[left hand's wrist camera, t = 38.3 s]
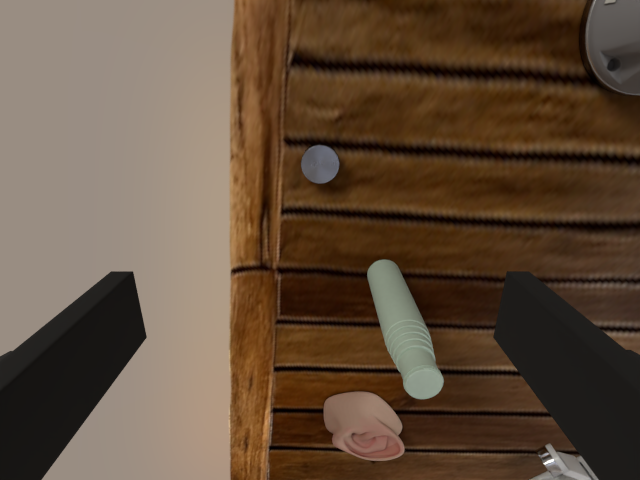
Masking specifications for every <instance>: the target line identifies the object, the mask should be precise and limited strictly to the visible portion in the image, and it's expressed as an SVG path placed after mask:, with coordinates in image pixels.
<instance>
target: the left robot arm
mask: <svg viewBox="0 0 640 480" xmlns="http://www.w3.org/2000/svg"><path fill="white" fill-rule="evenodd" d="M579 43H580V52H581V57H582V60H583V63H584V65H585V68H586V70H587V71H588V73H589V75H590V76H591V77H592V79H593V80H594V81H595V82H596V83H597V84H599V85H600V86H601V87H603V88H604V89H606V90H608V91H610V92H613V93H616V94H621V95H640V0H588V1H587V3H586V6H585V9H584V12H583V16H582V20H581V25H580V34H579ZM145 339H146V332H145V327H144V322H143V318H142V313H141V308H140V303H139V298H138V293H137V289H136V284H135V279H134V274H133V272H110V273H109V274H108V275H106V276H105V277H104V278H103V279H101V280H100V281H99V282H98V283H97V284H95V285H94V286H93V287H92V288H90V289H89V290H88V291H87V292H85V293H84V294H83V295H82V296H80V297H79V298H78V299H77V300H75V301H74V302H73V303H72V304H71V305H69V306H68V307H67V308H66V309H64V310H63V311H62V312H61V313H59V314H58V315H57V316H56V317H54V318H53V319H52V320H51V321H50V322H48V323H47V324H46V325H45V326H43V327H42V328H41V329H40V330H38V331H37V332H36V333H35V334H33V335H32V336H31V337H30V338H28V339H27V340H26V341H25V342H24V343H22V344H21V345H20V346H19V347H17V348H16V349H15V350H14V351H10V352H8V353H6V354H4V355H2V356H0V480H42V478H43V477H44V475H45V474H46V473H47V471H48V470H49V469H50V467H51V466H52V465H53V463H54V462H55V461H56V459H57V458H58V457H59V455H60V454H61V452H62V451H63V450H64V448H65V447H66V446H67V444H68V443H69V442H70V440H71V439H72V438H73V436H74V435H75V434H76V432H77V431H78V429H79V428H80V427H81V425H82V424H83V423H84V421H85V420H86V419H87V417H88V416H89V415H90V413H91V412H92V411H93V409H94V408H95V406H96V405H97V404H98V402H99V401H100V400H101V398H102V397H103V396H104V394H105V393H106V392H107V390H108V389H109V388H110V386H111V385H112V383H113V382H114V381H115V379H116V378H117V377H118V375H119V374H120V373H121V371H122V370H123V369H124V367H125V366H126V365H127V363H128V362H129V360H130V359H131V358H132V356H133V355H134V354H135V352H136V351H137V350H138V348H139V347H140V346H141V344H142V343H143V341H144V340H145ZM494 339H495V340H496V342H497V343H498V344H499V346H500V347H501V348H502V350H503V351H504V352H505V354H506V355H507V356H508V358H509V359H510V360H511V362H512V363H513V365H514V366H515V367H516V369H517V370H518V371H519V373H520V374H521V375H522V377H523V378H524V379H525V381H526V382H527V383H528V385H529V386H530V388H531V389H532V390H533V392H534V393H535V394H536V396H537V397H538V398H539V400H540V401H541V402H542V404H543V405H544V406H545V408H546V409H547V411H548V412H549V413H550V415H551V416H552V417H553V419H554V420H555V421H556V423H557V424H558V425H559V427H560V428H561V429H562V431H563V432H564V434H565V435H566V436H567V438H568V439H569V440H570V442H571V443H572V444H573V446H574V447H575V448H576V450H577V451H578V452H579V454H580V455H581V457H582V458H583V459H584V461H585V462H586V463H587V465H588V466H589V467H590V469H591V470H592V471H593V473H594V474H595V475H596V477H597V478H598V480H640V355H639V354H637V353H635V352H633V351H631V350H625V349H624V348H623V347H621V346H620V345H619V344H618V343H616V342H615V341H614V340H613V339H612V338H610V337H609V336H608V335H607V334H605V333H604V332H603V331H602V330H600V329H599V328H598V327H597V326H595V325H594V324H593V323H592V322H591V321H589V320H588V319H587V318H586V317H584V316H583V315H582V314H581V313H579V312H578V311H577V310H576V309H574V308H573V307H572V306H571V305H569V304H568V303H567V302H566V301H565V300H563V299H562V298H561V297H560V296H558V295H557V294H556V293H555V292H553V291H552V290H551V289H550V288H548V287H547V286H546V285H545V284H544V283H542V282H541V281H540V280H539V279H537V278H536V277H535V276H534V275H532V274H531V273H530V272H507V274H506V279H505V284H504V289H503V293H502V298H501V303H500V308H499V313H498V318H497V322H496V327H495V332H494Z"/></svg>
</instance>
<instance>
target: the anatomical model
mask: <svg viewBox="0 0 640 480" xmlns="http://www.w3.org/2000/svg"><path fill="white" fill-rule="evenodd" d="M324 421H325V425H326V428H327V429H328V430H329V431H330V432H331V433H333V438H332V442H333V444H334V446H336V447H337V448H339V449H341V450H343V451H346V452H348V453H350V454H352V455H354V456H357V457H359V458H362V459H366V460H373V461H385V460H391V459H394V458H397V457H399V456H401V455H402V454H403V453H404V444H403V442H402V441H401V439H400V438H399V436H398V435H399V434H400V432H401V431H402V423H401V421H400V419H399V417H398V416H397V415H396V413H395V412H394V411H393V410H392V408H391V407H390V406H389V405H388V404H387V403H386V402H385V401H384V400H383V399H381V398H380V397H379V396H377V395H375V394H373V393H369V392H348V393H342V394H338V395H334V396H331V397H329V398H328V399H327V400H326V401H325V403H324Z"/></svg>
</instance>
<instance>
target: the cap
mask: <svg viewBox="0 0 640 480" xmlns="http://www.w3.org/2000/svg"><path fill="white" fill-rule="evenodd" d="M337 156H338V155H337V154H336V152H335V150H334V149H333V148H332V147H330V146H329V145H326V144H323V143H318V144H314V145H312V146H309V148H308V149H307V150H305V152H304V154H303V156H302V160H301V168H302V171H303V174H304V175H305V177H306V178H307V179H309V180H310V181H312V182H314V183H319V184H321V183H326V182H329V181H330V180H332V179H333V178H334V177H335V176H336V174H337V172H338V169H339V159H338V157H337Z"/></svg>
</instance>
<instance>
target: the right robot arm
mask: <svg viewBox="0 0 640 480" xmlns="http://www.w3.org/2000/svg"><path fill="white" fill-rule="evenodd" d="M535 451H536V453H537V454H538V456H539V457H540V458H541V461H542V462H543V464H544V465H545V467H546V468H547V470H548V471H546V472H544V473H542V474H540V475H538V476H535V477H533V478H531V479H529V480H598V478H597V477H596V475H595V474H594V473H593V471H592V470H591V469H590V467H589V466H588V465H587V463H586V462H585V461H584V459H583V458H582V457H581V456H578V457H576V458H575V456H572V455H569V454H565V453H561V452H556V451H555V449H554V448H553V447H552V445H551V444H550V443H549V444H547V445H545V446H543V447H541V448H539V449H537V450H535Z"/></svg>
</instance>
